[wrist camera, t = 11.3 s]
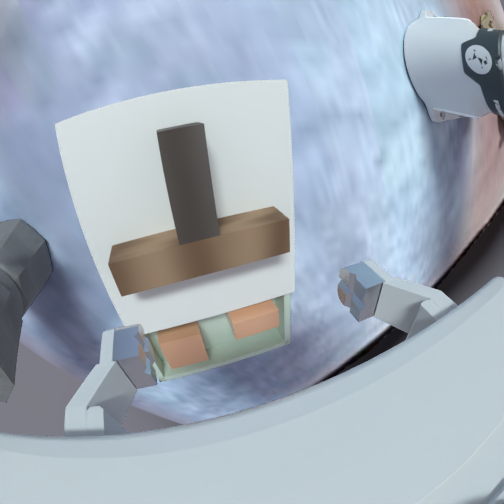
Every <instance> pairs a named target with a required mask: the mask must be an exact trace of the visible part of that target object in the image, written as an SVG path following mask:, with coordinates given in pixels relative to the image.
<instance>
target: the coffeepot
mask: <svg viewBox="0 0 504 504" xmlns="http://www.w3.org/2000/svg"><path fill="white" fill-rule="evenodd" d="M52 272H53V269H52V264H51V259H50V254H49V251H48V248H47V245H46V241H45V239H44V238H43V237H42V236H41V235H40V234H39V233H38V232H37V231H36V230H35V229H34V228H33V227H31V226H30V225H29V224H27V223H25V222H24V221H23V220H21V219H17V220H7V221H4V222H0V402H6V403H7V401H8V398H9V396H10V394H11V392H12V390H13V388H14V385H15V372H16V362H17V353H18V346H19V339H20V333H21V327H22V322H23V321H22V317H23V315H24V314H25V312H26V311H27V310H28V308H29V307H30V305H31V304H32V303H33V301H34V300H35V298H36V297H37V296H38V294H39V293H40V292H41V290H42V288H43V286H44V285H45V283H46V281H47V280H48V278H49V276H50V275H51V273H52Z"/></svg>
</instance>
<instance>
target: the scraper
mask: <svg viewBox="0 0 504 504" xmlns="http://www.w3.org/2000/svg"><path fill="white" fill-rule="evenodd" d="M156 132H157V138H158V144H159V150H160V156H161V161H162V166H163V172H164V177H165V182H166V187H167V192H168V197H169V201H170V206H171V211H172V215H173V220H174V224H175V228H176V229H172V230H168V231H164V232H161V233H157V234H153V235H149V236H145V237H142V238H138V239H134V240H130V241H127V242H123V243H119V244H116V245H112V248H111V253H110V257H109V262H108V266H109V268H110V271H111V273H112V276H113V278H114V280H115V283H116V285H117V287H118V290H119V292H120V294H121V296H122V297H123V296H126V295H130V294H134V293H138V292H142V291H146V290H150V289H154V288H157V287H161V286H165V285H169V284H173V283H177V282H180V281H184V280H188V279H192V278H196V277H199V276H203V275H207V274H211V273H214V272H218V271H222V270H226V269H229V268H233V267H237V266H241V265H244V264H248V263H252V262H255V261H259V260H263V259H266V258H270V257H274V256H277V255H281V254H285V253H288V252H290V227H289V218H288V217H286V216H285V215H284V214H283V213H281V212H280V211H279V210H278V209H277V208H275V207H274V206H272V207H267V208H262V209H258V210H253V211H249V212H244V213H240V214H235V215H231V216H226V217H222V218H218V219H217V212H216V206H215V199H214V192H213V186H212V179H211V172H210V165H209V157H208V150H207V142H206V135H205V127H204V123H199V122H194V123H189V124H183V125H178V126H173V127H168V128H164V129H159V130H156Z"/></svg>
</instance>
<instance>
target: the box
mask: <svg viewBox="0 0 504 504" xmlns="http://www.w3.org/2000/svg"><path fill="white" fill-rule="evenodd" d="M272 301H273V302H274V304H275V305H276V307H277V308H278V310H279V326H278V327H275V328H272V329H269V330H266V331H263V332H260V333H257V334H254V335H251V336H248V337H245V338H241V339H238V340H236V339H235V336H234V334H233V332H232V329H231V327H230V325H229V322H228V320H227V317H226V315H225V313H223V314H219V315H216V316H212V317H209V318H205V319H201V320H198V321H197V323H198V326H199V329H200V332H201V336H202V339H203V342H204V345H205V348H206V351H207V354H208V358H209V360H206V361H202V362H198V363H195V364H191V365H187V366H183V367H179V368H175V369H171V368H170V366H169V364H168V362H167V360H166V358H165V356H164V354H163V352H162V350H161V348H160V346H159V342H158V334H157V331H155V332H151V333H147V334H144V336H145V337H147V338H148V339H149V341H150V343H151V346H152V349H153V353H154V359H155V362H154V363H153V367H154V369H155V370H156V376H157V378H158V379H159V381H160V382H162V381H167V380H171V379H175V378H179V377H183V376H187V375H191V374H195V373H199V372H203V371H206V370H210V369H213V368H217V367H220V366H224V365H227V364H230V363H234V362H237V361H240V360H243V359H246V358H250V357H253V356H256V355H259V354H262V353H265V352H268V351H270V350H273V349H276V348H279V347H282V346H284V345H287V344H290V312H291V293H288V294H285V295H282V296H279V297H276V298H273V299H272Z"/></svg>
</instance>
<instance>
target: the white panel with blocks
mask: <svg viewBox="0 0 504 504" xmlns="http://www.w3.org/2000/svg"><path fill="white" fill-rule="evenodd" d="M194 122H199V123H204V127H205V135H206V142H207V150H208V157H209V165H210V172H211V179H212V186H213V192H214V199H215V206H216V212H217V219H218V218H222V217H226V216H231V215H235V214H240V213H244V212H249V211H253V210H258V209H262V208H267V207H272V206H274V207H275V208H277V209H278V210H279V211H280V212H281V213H283V214H284V215H285V216H286V217H288V218H289V227H290V252H288V253H285V254H281V255H277V256H274V257H270V258H266V259H263V260H259V261H255V262H252V263H248V264H244V265H241V266H237V267H233V268H229V269H226V270H222V271H218V272H214V273H211V274H207V275H203V276H199V277H196V278H192V279H188V280H184V281H180V282H177V283H173V284H169V285H165V286H161V287H157V288H154V289H150V290H146V291H142V292H138V293H134V294H130V295H126V296H123V297H122V296H121V294H120V292H119V290H118V287H117V285H116V283H115V280H114V278H113V276H112V273H111V271H110V268H109V266H108V262H109V257H110V253H111V248H112V245H116V244H119V243H123V242H127V241H130V240H134V239H138V238H142V237H145V236H149V235H153V234H157V233H161V232H164V231H168V230H172V229H176V228H175V224H174V220H173V215H172V211H171V206H170V201H169V197H168V192H167V187H166V182H165V177H164V172H163V166H162V161H161V156H160V150H159V144H158V138H157V132H156V130H159V129H164V128H168V127H173V126H178V125H183V124H189V123H194ZM55 128H56V134H57V139H58V144H59V149H60V154H61V158H62V162H63V167H64V171H65V175H66V178H67V182H68V186H69V189H70V193H71V196H72V200H73V203H74V206H75V209H76V213H77V216H78V219H79V222H80V225H81V227H82V230H83V233H84V236H85V239H86V241H87V244H88V247H89V249H90V252H91V254H92V257H93V259H94V262H95V264H96V267H97V269H98V271H99V274H100V276H101V278H102V281H103V283H104V285H105V287H106V290H107V292H108V294H109V296H110V298H111V300H112V302H113V304H114V307H115V309H116V311H117V313H118V315H119V317H120V319H121V320H122V322H123V324H124V326H129V325H134V324H141V325H142V327H143V329H144V334H147V333H151V332H155V331H159V330H163V329H167V328H171V327H175V326H179V325H183V324H187V323H190V322H194V321H198V320H201V319H205V318H209V317H212V316H216V315H219V314H223V313H226V312H230V311H233V310H237V309H240V308H243V307H247V306H250V305H253V304H257V303H260V302H263V301H266V300H270V299H273V298H276V297H279V296H282V295H285V294H288V293H291V292H295V232H294V189H293V162H292V142H291V124H290V109H289V95H288V82H287V80H256V81H239V82H227V83H217V84H208V85H201V86H193V87H187V88H181V89H175V90H169V91H164V92H159V93H154V94H150V95H145V96H141V97H137V98H133V99H129V100H125V101H121V102H117V103H114V104H110V105H107V106H104V107H100V108H97V109H94V110H91V111H88V112H85V113H82V114H79V115H77V116H74V117H71V118H68V119H66V120H63V121H61V122H58V123H56V124H55Z"/></svg>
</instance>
